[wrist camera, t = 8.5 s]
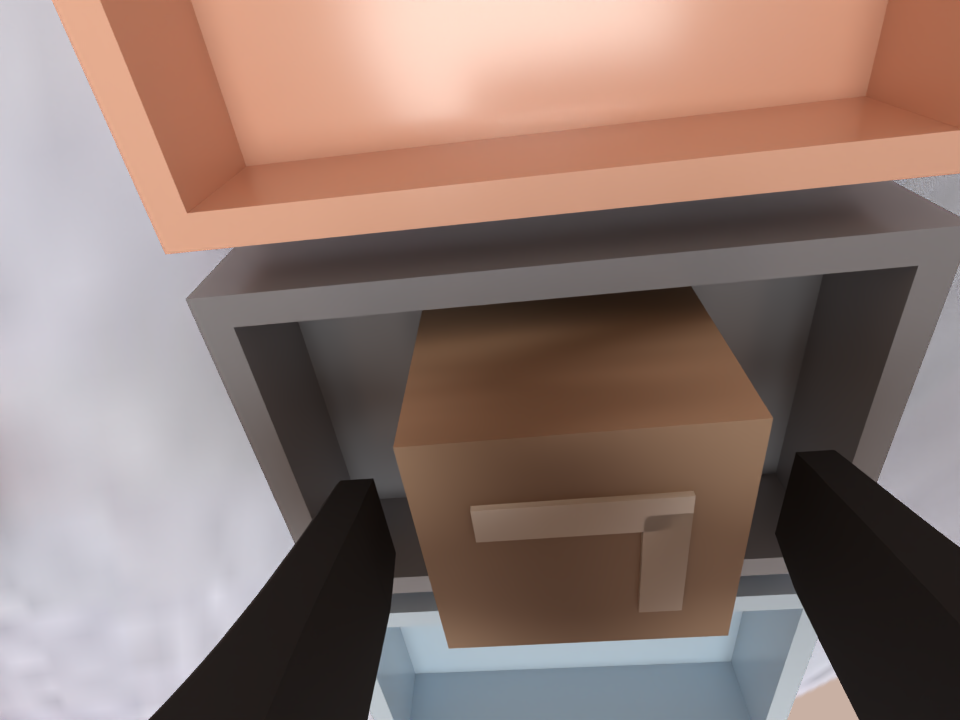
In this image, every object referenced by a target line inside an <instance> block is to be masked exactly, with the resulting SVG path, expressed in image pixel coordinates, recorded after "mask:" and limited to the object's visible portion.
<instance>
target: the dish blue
mask: <svg viewBox="0 0 960 720" xmlns="http://www.w3.org/2000/svg"><path fill="white" fill-rule="evenodd" d="M817 639H818V637H817V635H816V633H815V631H814V629H813V627H812V625H811V622H810V620H809V618H808V616H807V614H806V612H805V610H804V608H803V606H802V604H801V602H800V600H799V598H798V596H797V594H796V592H795V589H794V586H793V584H792V581H791V578H790V575H789V574H771V575H751V576H740V581H739V586H738V591H737V595H736V600H735V605H734V610H733V615H732V620H731V624H730V629H729V634H728V636H708V637H687V638H666V639H645V640H623V641H602V642H581V643H560V644H538V645H517V646H496V647H475V648H453V649H449V648H448V645H447V641H446V637H445V634H444V630H443V626H442V623H441V619H440V616H439V612H438V608H437V605H436V601H435V598H434V594H433V592H414V593H394V594H392V601H391V610H390V615H389V620H388V625H387V629H386V634H385V639H384V644H383V649H382V654H381V658H380V663H379V668H378V672H377V677H376V682H375V686H374V691H373V696H372V701H371V705H370V712H371V715H372V717H373V719H374V720H787V718H788V716H789V713H790V710H791V708H792V705H793V703H794V700H795V697H796V695H797V692H798V689H799V687H800V684H801V681H802V679H803V676H804V673H805V671H806V668H807V665H808V663H809V660H810V658H811V655H812V652H813V650H814V647H815V644H816V642H817Z"/></svg>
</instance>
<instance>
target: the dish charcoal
mask: <svg viewBox="0 0 960 720" xmlns="http://www.w3.org/2000/svg"><path fill="white" fill-rule="evenodd" d="M959 263H960V217H959V216H957V215H955V214H953V213H952V212H950V211H948V210H946V209H944V208H942V207H940V206H938V205H937V204H935V203H933V202H931V201H929V200H927V199H925V198H923V197H922V196H920V195H918V194H916V193H914V192H912V191H910V190H908V189H906V188H905V187H903V186H901V185H899V184H897V183H895V182H893V181H891V180H890V181H880V182H870V183H860V184H851V185H841V186H831V187H821V188H811V189H801V190H792V191H782V192H772V193H762V194H752V195H742V196H733V197H723V198H713V199H703V200H693V201H684V202H674V203H664V204H654V205H644V206H634V207H625V208H615V209H605V210H595V211H585V212H576V213H566V214H556V215H546V216H536V217H526V218H517V219H507V220H497V221H487V222H477V223H467V224H458V225H448V226H438V227H428V228H418V229H409V230H399V231H389V232H379V233H369V234H359V235H350V236H340V237H330V238H320V239H310V240H300V241H291V242H281V243H271V244H261V245H251V246H242V247H234V248H233V249H232V250H231V251H230V253H229V254H228V255H227V256H226V257H225V258H224V259H223V260H222V261H221V262H220V263H219V264H218V265H217V266H216V267H215V269H214V270H213V271H212V272H211V273H210V274H209V275H208V276H207V277H206V278H205V279H204V280H203V281H202V282H201V284H200V285H199V286H198V287H197V288H196V289H195V290H194V291H193V292H192V293H191V294H190V295H189V296H188V297H187V298H186V301H187V303H188V306H189V308H190V310H191V312H192V314H193V317H194V319H195V321H196V323H197V326H198V328H199V330H200V332H201V335H202V337H203V339H204V341H205V344H206V346H207V348H208V350H209V352H210V355H211V357H212V359H213V361H214V364H215V366H216V368H217V370H218V373H219V375H220V377H221V379H222V382H223V384H224V386H225V388H226V390H227V393H228V395H229V397H230V399H231V402H232V404H233V406H234V408H235V411H236V413H237V415H238V417H239V420H240V422H241V424H242V426H243V428H244V431H245V433H246V435H247V437H248V440H249V442H250V444H251V446H252V449H253V451H254V453H255V455H256V458H257V460H258V462H259V464H260V466H261V469H262V471H263V473H264V475H265V478H266V480H267V482H268V484H269V487H270V489H271V491H272V493H273V496H274V498H275V500H276V502H277V504H278V507H279V509H280V511H281V513H282V516H283V518H284V520H285V522H286V525H287V527H288V529H289V531H290V534H291V536H292V538H293V540H294V542H295V543H296V542H297V541H298V539H299V538H300V536H301V535H302V534H303V532H304V531H305V529H306V528H307V526H308V525H309V524H310V522H311V521H312V519H313V518H314V516H315V515H316V513H317V512H318V510H319V509H320V508H321V506H322V505H323V503H324V502H325V500H326V499H327V497H328V496H329V494H330V493H331V491H332V490H333V489H334V487H335V486H336V484H337V483H338V482H339V481H340V480H355V479H371V478H374V482H375V485H376V488H377V492H378V495H379V498H380V502H381V505H382V508H383V511H384V515H385V518H386V521H387V525H388V528H389V531H390V535H391V538H392V541H393V545H394V548H395V551H396V558H395V569H394V581H393V591H392V594H394V593H414V592H433V590H432V587H431V583H430V579H429V576H428V572H427V569H426V565H425V561H424V558H423V554H422V551H421V547H420V543H419V540H418V536H417V533H416V529H415V525H414V522H413V518H412V514H411V511H410V507H409V504H408V500H407V496H406V493H405V489H404V486H403V482H402V478H401V475H400V471H399V467H398V464H397V460H396V457H395V453H394V449H393V446H394V441H395V436H396V431H397V427H398V422H399V417H400V413H401V408H402V403H403V398H404V394H405V389H406V384H407V380H408V375H409V370H410V365H411V361H412V356H413V351H414V347H415V342H416V337H417V333H418V328H419V323H420V318H421V314H422V310H432V309H443V308H454V307H465V306H476V305H487V304H498V303H509V302H521V301H532V300H543V299H554V298H565V297H576V296H587V295H598V294H609V293H620V292H631V291H643V290H654V289H665V288H676V287H687V286H691V287H692V288H693V290H694V291H695V293H696V295H697V296H698V298H699V299H700V301H701V303H702V304H703V306H704V307H705V309H706V311H707V312H708V314H709V316H710V317H711V319H712V320H713V322H714V324H715V325H716V327H717V328H718V330H719V332H720V333H721V335H722V336H723V338H724V340H725V341H726V343H727V345H728V346H729V348H730V349H731V351H732V353H733V354H734V356H735V357H736V359H737V361H738V362H739V364H740V365H741V367H742V369H743V370H744V372H745V374H746V375H747V377H748V378H749V380H750V382H751V383H752V385H753V386H754V388H755V390H756V391H757V393H758V395H759V396H760V398H761V399H762V401H763V403H764V404H765V406H766V407H767V409H768V411H769V412H770V414H771V415H772V417H773V421H772V426H771V431H770V436H769V441H768V446H767V450H766V455H765V460H764V465H763V470H762V475H761V479H760V484H759V489H758V494H757V499H756V504H755V508H754V513H753V518H752V523H751V528H750V533H749V537H748V542H747V547H746V552H745V557H744V562H743V566H742V571H741V576H751V575H771V574H789V573H788V570H787V567H786V565H785V562H784V559H783V556H782V553H781V550H780V547H779V544H778V541H777V538H776V535H775V531H776V527H777V523H778V520H779V516H780V512H781V508H782V504H783V500H784V496H785V492H786V489H787V485H788V481H789V477H790V473H791V469H792V465H793V461H794V458H795V454H796V452H806V451H822V450H835V451H837V452H838V453H839V454H841V455H842V456H843V457H845V458H846V459H847V460H848V461H850V462H851V463H852V464H854V465H855V466H856V467H857V468H859V469H860V470H861V471H862V472H864V473H865V474H866V475H867V476H869V477H870V478H871V479H873V480H874V481H875V482H876V483H877V480H878V478H879V475H880V472H881V470H882V467H883V464H884V462H885V459H886V456H887V454H888V451H889V448H890V446H891V443H892V440H893V438H894V435H895V432H896V430H897V427H898V425H899V422H900V419H901V417H902V414H903V411H904V409H905V406H906V403H907V401H908V398H909V395H910V393H911V390H912V387H913V385H914V382H915V380H916V377H917V374H918V372H919V369H920V366H921V364H922V361H923V358H924V356H925V353H926V350H927V348H928V345H929V342H930V340H931V337H932V335H933V332H934V329H935V327H936V324H937V321H938V319H939V316H940V313H941V311H942V308H943V305H944V303H945V300H946V297H947V295H948V292H949V290H950V287H951V284H952V282H953V279H954V276H955V274H956V271H957V268H958V266H959Z"/></svg>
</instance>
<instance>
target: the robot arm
mask: <svg viewBox="0 0 960 720" xmlns="http://www.w3.org/2000/svg"><path fill="white" fill-rule="evenodd" d="M775 535H776V538H777V541H778V544H779V547H780V550H781V553H782V556H783V559H784V562H785V565H786V567H787V570H788V573H789V575H790V578H791V581H792V584H793V586H794V589H795V592H796V594H797V596H798V598H799V600H800V602H801V604H802V606H803V608H804V610H805V612H806V614H807V616H808V618H809V620H810V622H811V625H812V627H813V629H814V631H815V633H816V635H817V637H818V639H819V641H820V643H821V645H822V647H823V649H824V651H825V653H826V655H827V657H828V659H829V661H830V663H831V665H832V667H833V669H834V671H835V673H836V675H837V677H838V679H839V680H840V683H841V684H842V686H843V689H844V690H845V693H846V694H847V696H848V698H849V700H850V702H851V704H852V706H853V708H854V710H855V712H856V714H857V716H858V718H859V720H960V547H959V546H957V545H956V544H955V543H953V542H952V541H951V540H949V539H948V538H947V537H945V536H944V535H943V534H941V533H940V532H939V531H937V530H936V529H935V528H934V527H932V526H931V525H930V524H928V523H927V522H926V521H925V520H923V519H922V518H921V517H919V516H918V515H917V514H916V513H914V512H913V511H912V510H910V509H909V508H908V507H907V506H905V505H904V504H903V503H902V502H900V501H899V500H898V499H896V498H895V497H894V496H893V495H891V494H890V493H889V492H888V491H886V490H885V489H884V488H883V487H881V486H880V485H879V484H878V483H876V482H875V481H874V480H873V479H871V478H870V477H869V476H867V475H866V474H865V473H864V472H862V471H861V470H860V469H859V468H857V467H856V466H855V465H854V464H852V463H851V462H850V461H848V460H847V459H846V458H845V457H843V456H842V455H841V454H839V453H838V452H837V451H835V450H822V451H806V452H796V454H795V458H794V461H793V465H792V469H791V473H790V477H789V481H788V485H787V489H786V492H785V496H784V500H783V504H782V508H781V512H780V516H779V520H778V523H777V527H776V531H775ZM395 558H396V551H395V548H394V545H393V541H392V538H391V535H390V531H389V528H388V525H387V521H386V518H385V515H384V511H383V508H382V505H381V502H380V498H379V495H378V492H377V488H376V485H375V482H374V478H371V479H355V480H340V481H339V482H338V483H337V484H336V486H335V487H334V489H333V490H332V491H331V493H330V494H329V496H328V497H327V499H326V500H325V502H324V503H323V505H322V506H321V508H320V509H319V510H318V512H317V513H316V515H315V516H314V518H313V519H312V521H311V522H310V524H309V525H308V526H307V528H306V529H305V531H304V532H303V534H302V535H301V536H300V538H299V539H298V541H297V542H296V543H295V545H294V546H293V548H292V549H291V550H290V552H289V553H288V554H287V556H286V557H285V559H284V560H283V561H282V563H281V564H280V565H279V567H278V568H277V569H276V571H275V572H274V573H273V575H272V576H271V577H270V579H269V580H268V582H267V583H266V584H265V586H264V587H263V588H262V589H261V591H260V592H259V593H258V595H257V596H256V597H255V598H254V600H253V601H252V602H251V603H250V605H249V606H248V607H247V608H246V610H245V611H244V612H243V613H242V615H241V616H240V617H239V618H238V620H237V621H236V622H235V623H234V624H233V626H232V627H231V628H230V629H229V631H228V632H227V633H226V634H225V636H224V637H223V638H222V639H221V640H220V642H219V643H218V644H217V645H216V646H215V648H214V649H213V650H212V651H211V652H210V653H209V655H208V656H207V657H206V658H205V659H204V660H203V661H202V663H201V664H200V665H199V666H198V667H197V668H196V669H195V670H194V672H193V673H192V674H191V675H190V676H189V677H188V678H187V679H186V680H185V682H184V683H183V684H182V685H181V686H180V687H179V688H178V689H177V690H176V691H175V692H174V693H173V695H172V696H171V697H170V698H169V699H168V700H167V701H166V702H165V703H164V704H163V705H162V706H161V707H160V708H159V709H158V710H157V711H156V712H155V714H154V715H153V716H152V717H151V718H150V719H149V720H367V719H368V715H369V710H370V705H371V701H372V696H373V691H374V686H375V682H376V677H377V672H378V668H379V663H380V658H381V654H382V649H383V644H384V639H385V634H386V629H387V625H388V620H389V615H390V610H391V601H392V591H393V581H394V569H395Z"/></svg>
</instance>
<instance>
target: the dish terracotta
mask: <svg viewBox="0 0 960 720" xmlns="http://www.w3.org/2000/svg"><path fill="white" fill-rule="evenodd" d="M52 2H53V4H54V6H55V8H56V11H57V13H58V15H59V17H60V19H61V22H62V24H63V26H64V28H65V31H66V33H67V35H68V37H69V40H70V42H71V44H72V46H73V49H74V51H75V53H76V55H77V57H78V60H79V62H80V64H81V66H82V69H83V71H84V73H85V75H86V78H87V80H88V82H89V84H90V86H91V89H92V91H93V93H94V95H95V98H96V100H97V102H98V104H99V107H100V109H101V111H102V113H103V116H104V118H105V120H106V122H107V124H108V127H109V129H110V131H111V133H112V136H113V138H114V140H115V142H116V145H117V147H118V149H119V151H120V154H121V156H122V158H123V160H124V162H125V165H126V167H127V169H128V171H129V174H130V176H131V178H132V180H133V183H134V185H135V187H136V189H137V192H138V194H139V196H140V198H141V200H142V203H143V205H144V207H145V209H146V212H147V214H148V216H149V218H150V221H151V223H152V225H153V227H154V230H155V232H156V234H157V236H158V238H159V241H160V243H161V245H162V247H163V250H164V252H165V254H173V253H183V252H192V251H202V250H212V249H222V248H232V247H242V246H251V245H261V244H271V243H281V242H291V241H300V240H310V239H320V238H330V237H340V236H350V235H359V234H369V233H379V232H389V231H399V230H409V229H418V228H428V227H438V226H448V225H458V224H467V223H477V222H487V221H497V220H507V219H517V218H526V217H536V216H546V215H556V214H566V213H576V212H585V211H595V210H605V209H615V208H625V207H634V206H644V205H654V204H664V203H674V202H684V201H693V200H703V199H713V198H723V197H733V196H742V195H752V194H762V193H772V192H782V191H792V190H801V189H811V188H821V187H831V186H841V185H851V184H860V183H870V182H880V181H890V180H900V179H909V178H919V177H929V176H939V175H949V174H959V173H960V0H52Z"/></svg>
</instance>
